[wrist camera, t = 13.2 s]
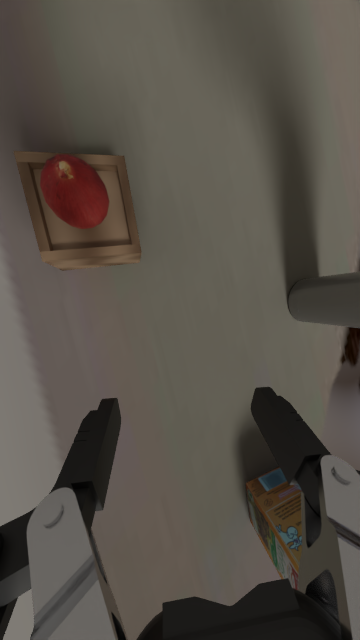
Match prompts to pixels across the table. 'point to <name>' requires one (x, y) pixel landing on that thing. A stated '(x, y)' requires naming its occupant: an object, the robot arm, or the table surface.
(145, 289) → the table surface
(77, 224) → the onion
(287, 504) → the milk carton
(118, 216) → the wooden tray
